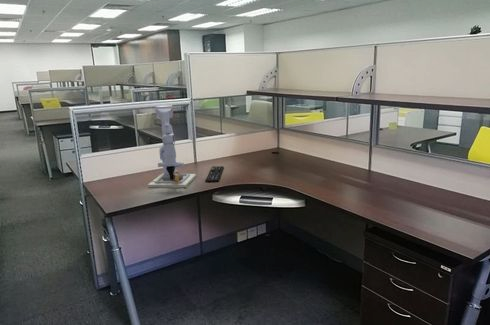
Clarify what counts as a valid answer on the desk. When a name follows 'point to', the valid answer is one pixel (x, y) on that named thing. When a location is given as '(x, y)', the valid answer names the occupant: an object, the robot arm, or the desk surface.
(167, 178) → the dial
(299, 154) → the desk surface
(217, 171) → the black keyboard
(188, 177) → the white base plate
